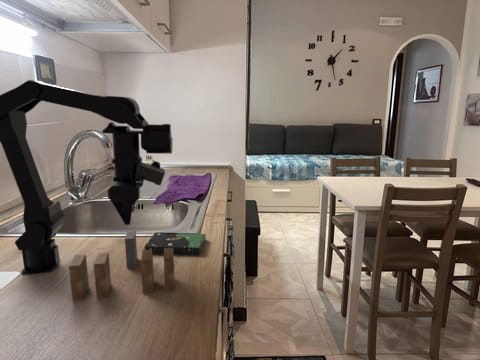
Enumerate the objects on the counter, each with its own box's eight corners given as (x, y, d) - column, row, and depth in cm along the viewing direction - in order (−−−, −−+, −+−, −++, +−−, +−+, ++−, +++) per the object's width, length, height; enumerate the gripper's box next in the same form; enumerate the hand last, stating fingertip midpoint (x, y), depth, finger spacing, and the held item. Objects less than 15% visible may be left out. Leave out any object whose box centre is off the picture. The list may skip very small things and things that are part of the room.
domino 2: (96, 298, 68) (93, 264, 66) (101, 285, 72) (98, 253, 71) (107, 297, 68) (104, 263, 66) (111, 284, 73) (108, 252, 71)
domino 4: (142, 293, 69) (141, 260, 68) (144, 281, 74) (142, 250, 72) (152, 292, 70) (151, 259, 68) (153, 280, 75) (152, 249, 73)
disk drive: (144, 256, 88) (201, 257, 87) (143, 246, 87) (200, 247, 87) (155, 240, 98) (205, 241, 97) (154, 231, 97) (205, 232, 97)
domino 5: (165, 291, 70) (163, 258, 69) (165, 279, 75) (163, 248, 73) (174, 290, 71) (173, 257, 69) (174, 278, 75) (173, 247, 74)
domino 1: (72, 300, 67) (68, 266, 65) (78, 287, 71) (75, 255, 70) (83, 299, 67) (79, 265, 65) (88, 286, 72) (85, 254, 70)
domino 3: (126, 268, 80) (124, 239, 78) (129, 259, 85) (127, 231, 83) (135, 267, 80) (133, 238, 79) (137, 258, 85) (135, 230, 83)
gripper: (162, 159, 69) (163, 230, 73) (163, 148, 87) (164, 205, 91) (105, 159, 67) (109, 233, 71) (117, 147, 85) (121, 206, 88)
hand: (129, 217), depth 80 cm, fingers open, 9 cm apart
